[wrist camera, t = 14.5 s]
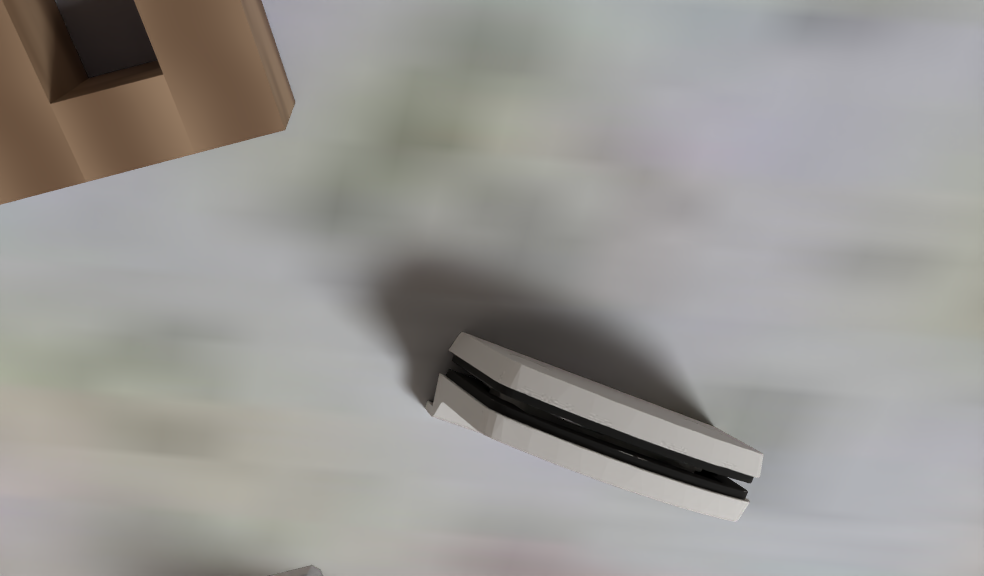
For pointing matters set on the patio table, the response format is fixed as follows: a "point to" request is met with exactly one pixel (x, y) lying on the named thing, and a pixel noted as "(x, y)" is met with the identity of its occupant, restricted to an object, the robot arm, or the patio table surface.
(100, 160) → the hole block
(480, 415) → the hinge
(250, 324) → the patio table surface
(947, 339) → the patio table surface
